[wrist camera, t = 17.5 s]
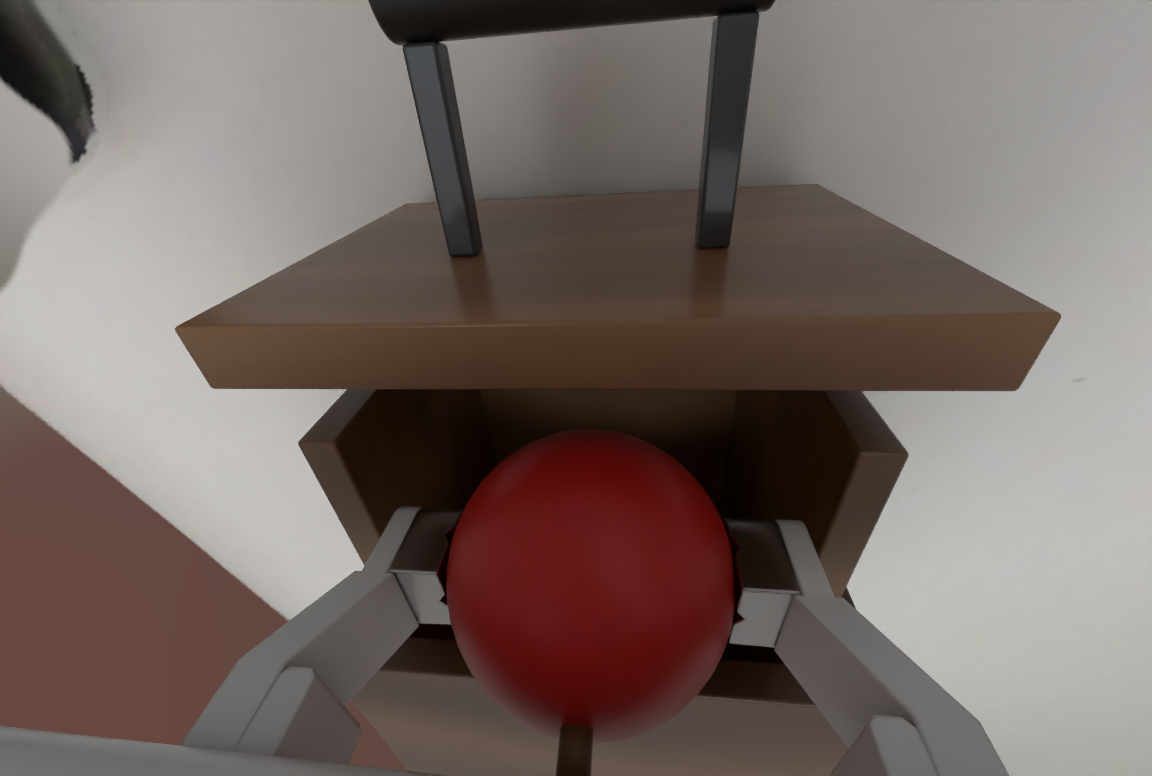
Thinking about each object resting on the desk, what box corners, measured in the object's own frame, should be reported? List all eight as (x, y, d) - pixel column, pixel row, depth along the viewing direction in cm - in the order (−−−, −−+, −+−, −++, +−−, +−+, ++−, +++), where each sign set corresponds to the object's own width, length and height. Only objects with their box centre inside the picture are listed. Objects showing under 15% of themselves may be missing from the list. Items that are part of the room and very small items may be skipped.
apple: (469, 376, 10) (288, 712, 5) (724, 376, 9) (852, 765, 4) (506, 534, 13) (423, 844, 8) (700, 542, 13) (753, 886, 7)
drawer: (352, 4, 12) (-121, -131, 4) (869, -51, 10) (1498, -405, 3) (485, 508, 22) (415, 713, 15) (743, 518, 21) (804, 749, 14)
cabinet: (457, 411, 20) (322, 665, 11) (772, 414, 19) (902, 712, 10) (508, 603, 29) (455, 831, 20) (725, 616, 27) (771, 870, 19)
